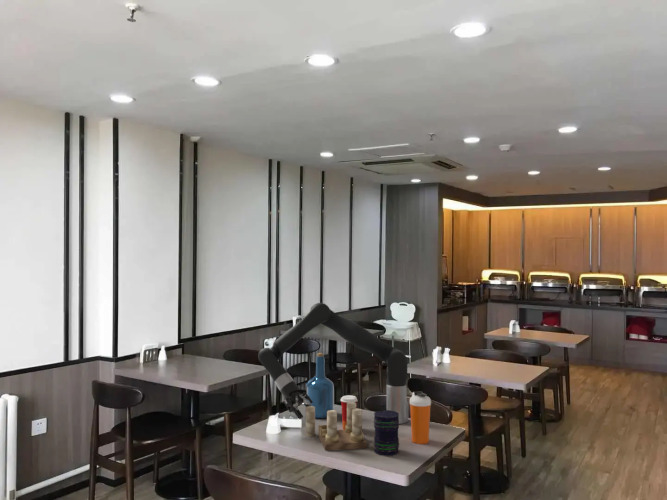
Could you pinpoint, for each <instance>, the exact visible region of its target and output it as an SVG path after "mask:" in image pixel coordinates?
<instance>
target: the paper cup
mask: <svg viewBox="0 0 667 500" xmlns="http://www.w3.org/2000/svg"><path fill="white" fill-rule="evenodd" d="M339 401H340V402H341V403H340V404H341V417H342V420H341V421H342V430H345V426H346V425H347V403H349V402H354V403H356V409H358V408H357V407H358V406H357V405H358V401H359V400H358V399H357V396H355V395H343V396H342V397H340V400H339Z"/></svg>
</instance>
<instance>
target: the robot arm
mask: <svg viewBox="0 0 667 500" xmlns="http://www.w3.org/2000/svg"><path fill="white" fill-rule="evenodd" d="M319 325H322V326H324V327H327V328H329V329H330V330H332V331H333V332H335V333H336V334H338V336H340V338H343V339H344V340H345V341H346V342H348V343H349V344H352V345H353V346H354V347H356V348H358V349H360V350H362V351H365V352H367V353H370V354H371V355H374V356H376V357H377V358H378V359H380V360H381V361H383V362H384V363H385V364H386V366H387V377H386V410H390V411H395V412H397V413H399V416H398V417H399V425H402V424H405V423H408V422H409V401H408V400H407V381H408V357H407V356H406V354H405V353H404V352H403V351H402V350H400V349H398V348H396V347H394V346H391V345H390V344H388V343H385V342H383V341H382V340H380V339H379V338H378V337H377V336H376V335H374V334H373V333H372V332H370V330H367V329H366V328H365V327H362V326H361V325H359V324H357V323H355V322H353V321H351V320H349V319H347V318H346V317H345V318H344V317H342V316H340V315H339V314H338V313H335V311H333V310H332V309H331V308H330V307H329V306H328V305H327V304H326V303H323V302H317V303H315V304H313V305H312V306H311V307H310V310H309V312H308V313H307V314H306V315H305V316H304V317H303V318H302V319H301V320H300V321H299V322H297V323H296V324H294V325H293V326H292V327H290V328H289V329H288V330H286V331H285V332H284V333H282V334H281V335H279V336H278V338H276V340H274V342H273V345H272V346H271V347H270V348H268V347H264V348H263V347H262V348H261V349H259V351H258V354H257V358H258V360H259V362H260V364H261V365H262V366H263V367H264V369H265V370H266V371H267V372H268V374H269V376H270V377H271V379H272V380H273V381H274V383H275V385H276V387H277V389H278V390H279V391H280V393H281V394H282V396H283V397H284V400H283V404H284V406H286V409H287V410H288V412H289V413H294V414H295V416H296V418H297V419H298V420H302V418H304V415H303V414H302V412H301V411H300V409H299V407H298V406H301V407H305V408H306V407H307V406H311V404H312V403H313V401H312V400H311V399H310V397H309V396H308V395H307V391H306V392H305V391H303V393H301V392H300V387H299V386H298V385H297V383H296V381H295V380H294V379H293V377H292V376H291V374H289V372H288V370H287V369H286V368H285V367H284V366H283V365H282V364H281V363H280V361H279V360H280V359H281V358H282V357H283V356H284V354H285V353H286V352H287V351H288V350H290V349H291V348H292V347H293V346H294V345H295V344H296V343H297V342H299V341H300V340H301V339H302V338H303V337H304V336H306V334H308V333H309V332H310V331H312V330H313V329H314V328H316V327H318V326H319ZM308 400H309V401H310V402H308Z"/></svg>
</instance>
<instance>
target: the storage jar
mask: <svg viewBox="0 0 667 500" xmlns="http://www.w3.org/2000/svg"><path fill="white" fill-rule="evenodd" d="M380 406H384V404H383V403H380ZM373 415H374V417H373V427H374V437H373V441H374V442H373V446H374V450H373V451H374V454H376V455H378V456H382V457H383V456H385V457H393V456H396V455H398V454H399V452H400V451H399V448H400V447H399V446H400V438H399V428H400V424H399V417H398V416H399V413H397V412H395V411H390V410H387V409H385V410H384V409H383V410H377V411H375V412H374V413H373Z"/></svg>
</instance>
